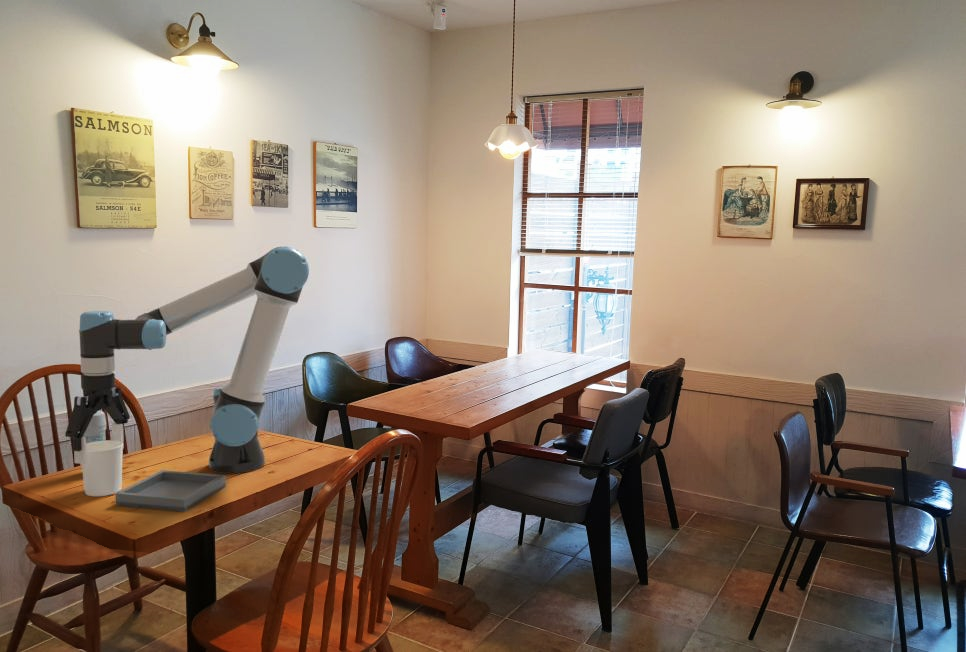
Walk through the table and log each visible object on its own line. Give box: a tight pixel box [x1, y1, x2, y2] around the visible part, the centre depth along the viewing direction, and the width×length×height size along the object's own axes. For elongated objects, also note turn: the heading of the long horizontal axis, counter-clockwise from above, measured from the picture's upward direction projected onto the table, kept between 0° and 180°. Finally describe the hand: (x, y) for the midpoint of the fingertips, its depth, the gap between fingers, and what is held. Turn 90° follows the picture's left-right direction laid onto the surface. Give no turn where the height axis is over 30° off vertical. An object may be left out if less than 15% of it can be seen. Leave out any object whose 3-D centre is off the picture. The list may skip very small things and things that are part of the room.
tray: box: [114, 469, 227, 513], centre depth 184 cm, size 18×18×3 cm
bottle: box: [83, 407, 107, 444], centre depth 199 cm, size 7×7×20 cm
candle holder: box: [81, 439, 124, 497], centre depth 186 cm, size 10×10×12 cm
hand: (99, 455), depth 185 cm, fingers open, 13 cm apart
